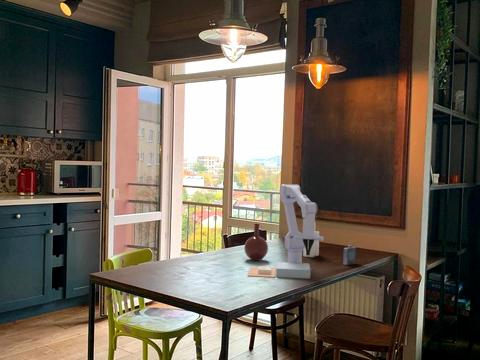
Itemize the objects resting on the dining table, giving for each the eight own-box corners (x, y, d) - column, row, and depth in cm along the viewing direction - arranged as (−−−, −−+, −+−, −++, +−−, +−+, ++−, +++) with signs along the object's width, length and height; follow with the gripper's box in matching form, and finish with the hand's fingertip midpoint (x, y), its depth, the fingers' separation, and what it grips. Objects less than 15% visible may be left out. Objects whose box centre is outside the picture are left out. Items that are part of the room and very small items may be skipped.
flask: (345, 265, 258) (346, 245, 258) (341, 264, 260) (342, 244, 260) (356, 263, 264) (357, 244, 264) (352, 262, 266) (352, 243, 266)
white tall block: (311, 257, 277) (312, 223, 276) (300, 256, 281) (301, 222, 280) (319, 254, 287) (321, 221, 286) (308, 253, 291) (310, 220, 290)
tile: (271, 266, 239) (270, 270, 239) (258, 265, 239) (258, 269, 239) (270, 270, 231) (270, 274, 231) (258, 269, 231) (257, 273, 232)
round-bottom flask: (252, 256, 275) (253, 222, 274) (272, 259, 268) (273, 224, 267) (239, 260, 264) (240, 224, 263) (259, 263, 257) (260, 226, 256)
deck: (276, 269, 242) (277, 262, 242) (308, 271, 241) (309, 263, 241) (276, 276, 227) (276, 268, 227) (310, 278, 226) (310, 270, 226)
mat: (250, 268, 245) (250, 267, 245) (275, 269, 244) (275, 268, 244) (247, 276, 227) (247, 275, 227) (275, 277, 226) (275, 276, 226)
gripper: (294, 227, 231) (293, 255, 232) (324, 228, 230) (323, 257, 231) (293, 225, 238) (292, 252, 239) (323, 226, 237) (322, 254, 238)
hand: (307, 254), depth 235 cm, fingers closed
